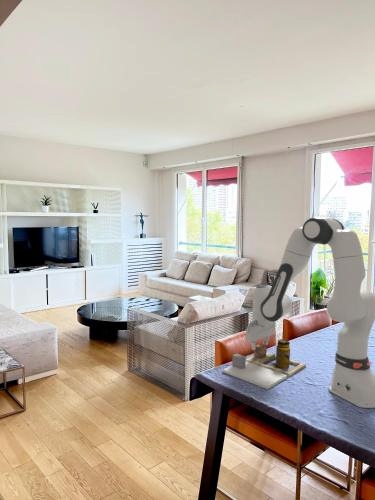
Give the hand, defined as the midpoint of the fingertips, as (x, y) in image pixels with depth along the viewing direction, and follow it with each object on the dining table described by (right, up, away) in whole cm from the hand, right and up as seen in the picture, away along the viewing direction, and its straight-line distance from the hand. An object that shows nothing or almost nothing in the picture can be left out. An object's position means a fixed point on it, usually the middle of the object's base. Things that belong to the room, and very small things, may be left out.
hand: (259, 347), depth 182 cm
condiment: (+8, -7, -7) cm, 13 cm away
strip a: (+6, -6, -6) cm, 11 cm away
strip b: (-6, -7, -18) cm, 20 cm away
